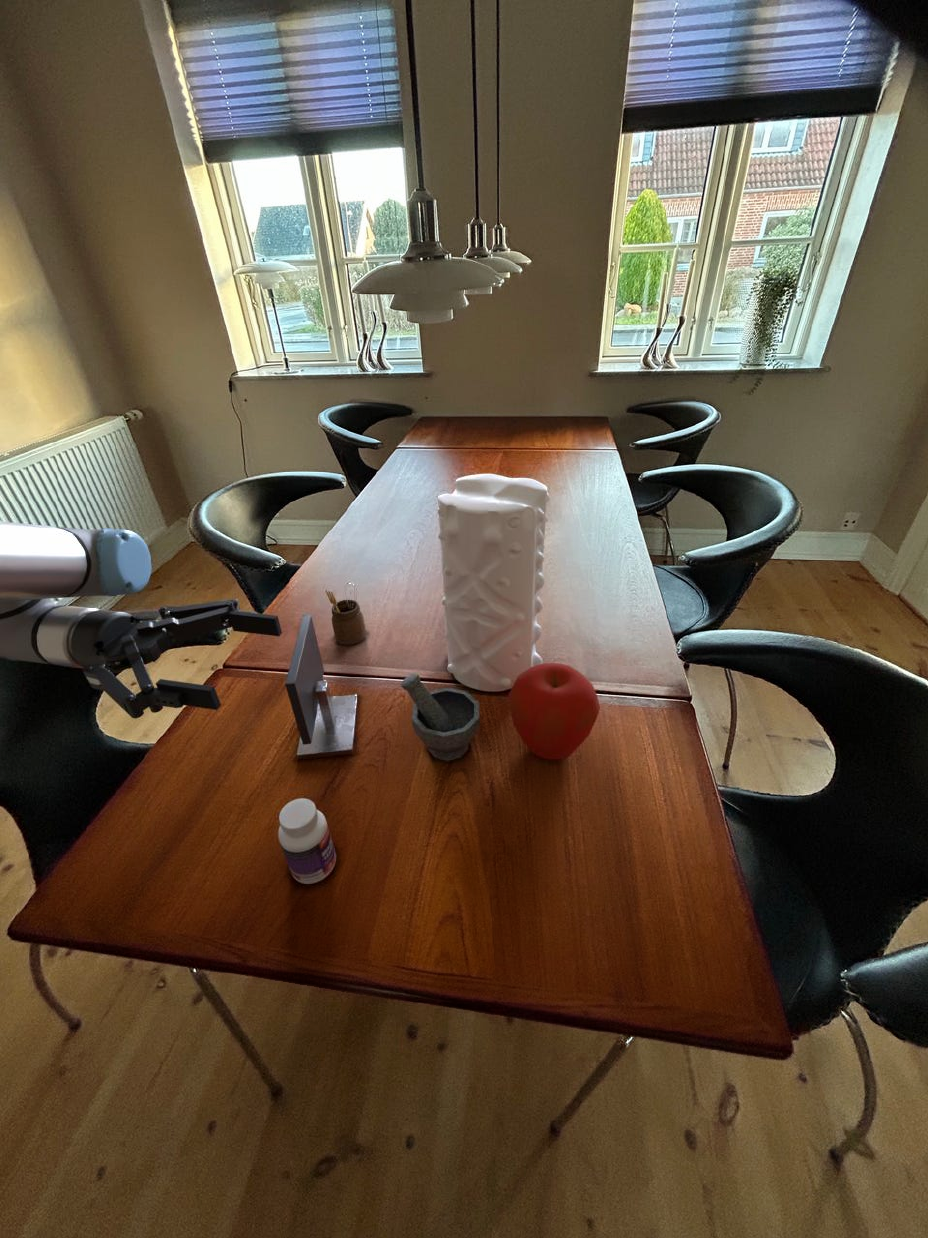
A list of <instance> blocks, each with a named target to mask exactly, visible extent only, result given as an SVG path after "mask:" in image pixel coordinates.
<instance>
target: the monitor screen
mask: <svg viewBox="0 0 928 1238" xmlns="http://www.w3.org/2000/svg"><path fill="white" fill-rule="evenodd" d="M314 625H315V624H314V621H313V617H312V614H303V615H302V619H301V622H300V626H299V629H298V630H299V631H298V633H297V638H296V642H295V645H294V647H293V648H294V649H293V653H292V656H291V660H290V664H289V668H288V672H287V676H286V679H285V683H284V685H285V689H286V692H287V695H288V699H289V702H290V705H291V709H292V713H293V716H294V720H295V723H296V726H297V730H298V733H299V738H300V737H301V740H302V743H303V745H304V744H311V743H312V738H313V732H314V726H315V720H316V715H317V709H318V703H319V702H318V698H317V694H316V688H317V683H318V681H324V673H325V668H324V664H323V659H322V655H321V651H320V647H319V642H318V638H317V635H316V630H315V629H316V628H315V626H314Z"/></svg>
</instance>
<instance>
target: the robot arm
mask: <svg viewBox="0 0 928 1238" xmlns="http://www.w3.org/2000/svg"><path fill="white" fill-rule="evenodd" d="M151 557H152V556H151V551H150V550H149V547H148V545H147V543H146V542H145V540H144V539H143V538H142V537H141V536H140V535H139V534H137V533H136V532H134V531H132V530H128V529H112V528H110V527H103V528H101V529H87V528H86V529H85V528H74V527H62V526H53V525H44V524H33V523H21V522H11V521H3V520H2V519H0V658H1V659H5V660H9V661H16V662H17V661H19V662H20V661H21V662H31V663H40V664H46V665H55V666H61V667H69V668H76V669H82V672H83V674H84V676H85V678H86V680H87V681H88V683H89V685H90V687H91V688H92V689H93V690H94V689H95V690H98V691H102V692H104V693H106V694H107V695H108V696H109V698H110V699H112V700H113V701H114V702H115V703H116V704H117V705H118V706H119V707H120V708H121V709H122V710H123V711H125V713H126V714H127V715H128V716H130V717H131V718H132V719H134V720H135V719H139V718H141V717H143V716H144V714H145V710H147V709H148V708H149V710H150V712H151V713H153V714H156V713H159V712H161V711H163V709H164V707H165V708H171V709H172V708H173V709H181V708H183V707H184V706H186V707H194V708H199V709H207V710H215V711H218V710H219V709H220V707H221V706H222V704H221V702H220V698H219V696H218V693H217V691H216V688H215V686H214V685H207V684H199V683H193V682H191V683H190V682H186V681H185V682H184V681H178V680H171V679H164V678H159V680H157V681H156V682H155V684H154V683H153V681H152V677H151V675H150V673H149V670H148V669H147V666H146V665H149V664H151V663H156V661H158V659H159V658H161V656H162V654H164V653H165V652H167V651H168V650H169V649H171V648H174V647H177V646H181V645H183V644H184V643H185V641H186V640H187V641H188V640H189V639H194V638H197V637H200V636H204V635H209V634H212V633H215V632H219V631H222V630H227V629H231V628H232V630H233V632H238V633H247V634H254V635H263V636H274V637H281V635H282V634H283V631H282V628H281V627H282V626H281V624H280V619H279V616H278V615H277V614H275V615H274V614H268V613H267V614H266V613H259V612H256V611H251V610H250V611H248V610H241V607H240V604H239V600H238V599H237V598H230V599H221V600H215V601H209V602H201V603H195V604H188V605H179V606H172V605H171V606H169V605H168V606H167V605H165V606H161V607H158V610H157V611H158V614H159V616H158V617H157V618H156V619H148V620H141V619H139V618H137V617H135V616H134V615H132V614H130V613H128V612H125V611H117V610H108V609H107V610H106V609H99V608H95V607H94V608H93V607H83V606H75V605H74V606H73V605H65V604H56V603H55V602H53V601H52V599H65V598H66V599H67V598H80V597H100V596H101V597H117V596H126V595H134V594H138V593H139V592H141V591H143V589H144V588H145V587H146V586H147V584H148V583H149V581H150V578H151V576H152V575H151V574H152V568H153V567H152V559H151ZM168 628H170V630H171V631H172V634H173V636H174V637H173V638H171V636H170V634H169V632H168V630H167V629H168ZM129 669H131V670H132V672H133V675H134V677H135V679H136V681H137V684H138V687H139V689H140V691H139V692H137V693H136V694H135V693H134V692H133V691H132V690H131V689H130V688H129V687H128V686H127V685H125V684H124V683H123V682H122V681H121V680H120V679H119V678H118V677H117V676H115V675H114V674H115V673H121V672H124V671H125V670H129Z"/></svg>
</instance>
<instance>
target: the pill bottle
mask: <svg viewBox="0 0 928 1238" xmlns="http://www.w3.org/2000/svg"><path fill="white" fill-rule="evenodd" d="M278 822H279V824H280V825H279V827H278V832H277V836H278V841H279V845H280V847H281V850H282V852H283V855H284V858H285V861H286V863H287V865H288V869H289V871H290V874H291V875H292V877H293V878H294V880H295V881H297V882H299V883H301V884H303V885H312V884H316V883H318V882H320V881H323V880H324V879H326V877H328V876H329V875H330V874H331V872H333V870H334V868H335V865H336V861H337V853H336V850H335V846H334V843H333V839H332V835H331V832H330V828H329V825H328V822H327V818H326V817H325V815H324V813H322V811H320V810H318V809H317V807H316V805H315V802H314V801H312V800H311V799H308V798H304V797H302V798H296V799H293V800H291V801H289V802H288V803H286V804H285V805H284V806H283V808H282V809H281V810H280V812H279V816H278Z"/></svg>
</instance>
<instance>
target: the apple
mask: <svg viewBox="0 0 928 1238" xmlns="http://www.w3.org/2000/svg"><path fill="white" fill-rule="evenodd" d="M506 697H507V703H508V707H509V712H510V716H511V721H512V724H513V727H514V729H515V731H516V732H517V734H518V736H519V737H520V738H521V740H522V742H523V744H524V745H525V746H526V748H527V750H529V751H530V752H531V753H533V754H534V755H536V756H538V757H540V758H543V759H546V760H562V759H564V758H568V757H570V756H571V755H573V753H575V751H576V750H578V748H579V747H580V746H581V745H582V744H583V742H585V740H586V739H587V738H588V737H589V736H590V734H591V732H592V730H593V727H594V725H595V724H596V721H597V718H598V716H599V713H600V710H601V705H600V702H599V699H598V695H597V692H596V690H595V687H594V685H593V683H592V682H591V681H590V680H589V679H588V678H587V677H586V676H585V675H584V674H583V673H582V672H580V671H578V670H577V669H575V668H573V666H570V665H568V664H563V663H559V662H543V663H542V664H540V665H536V666H533V667H530V668H528V669H526V670H525V671H524V672H522V673H521V674H520V675H518V677H517V679H516V681H515V683H514V685H513V687H512V688H511V689H510V691H509V693H508V695H507V696H506Z"/></svg>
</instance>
